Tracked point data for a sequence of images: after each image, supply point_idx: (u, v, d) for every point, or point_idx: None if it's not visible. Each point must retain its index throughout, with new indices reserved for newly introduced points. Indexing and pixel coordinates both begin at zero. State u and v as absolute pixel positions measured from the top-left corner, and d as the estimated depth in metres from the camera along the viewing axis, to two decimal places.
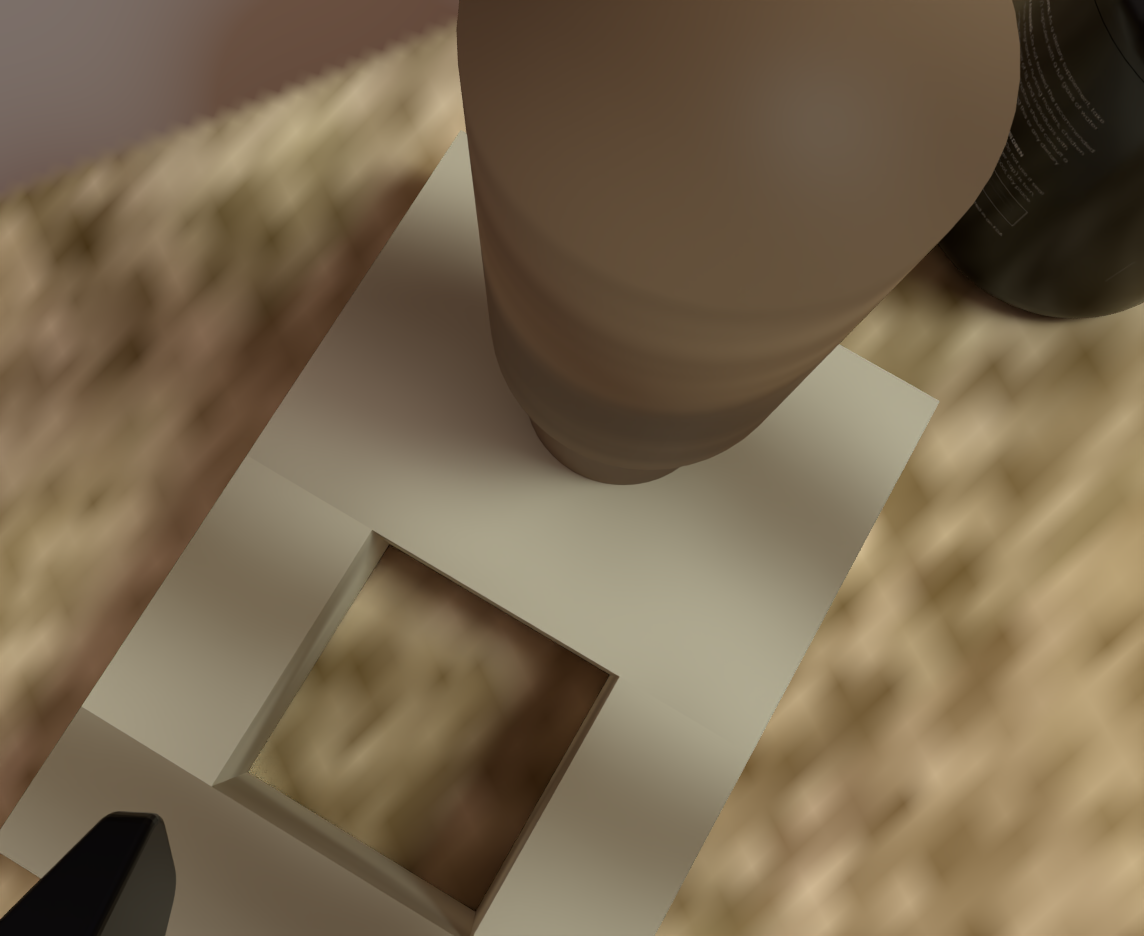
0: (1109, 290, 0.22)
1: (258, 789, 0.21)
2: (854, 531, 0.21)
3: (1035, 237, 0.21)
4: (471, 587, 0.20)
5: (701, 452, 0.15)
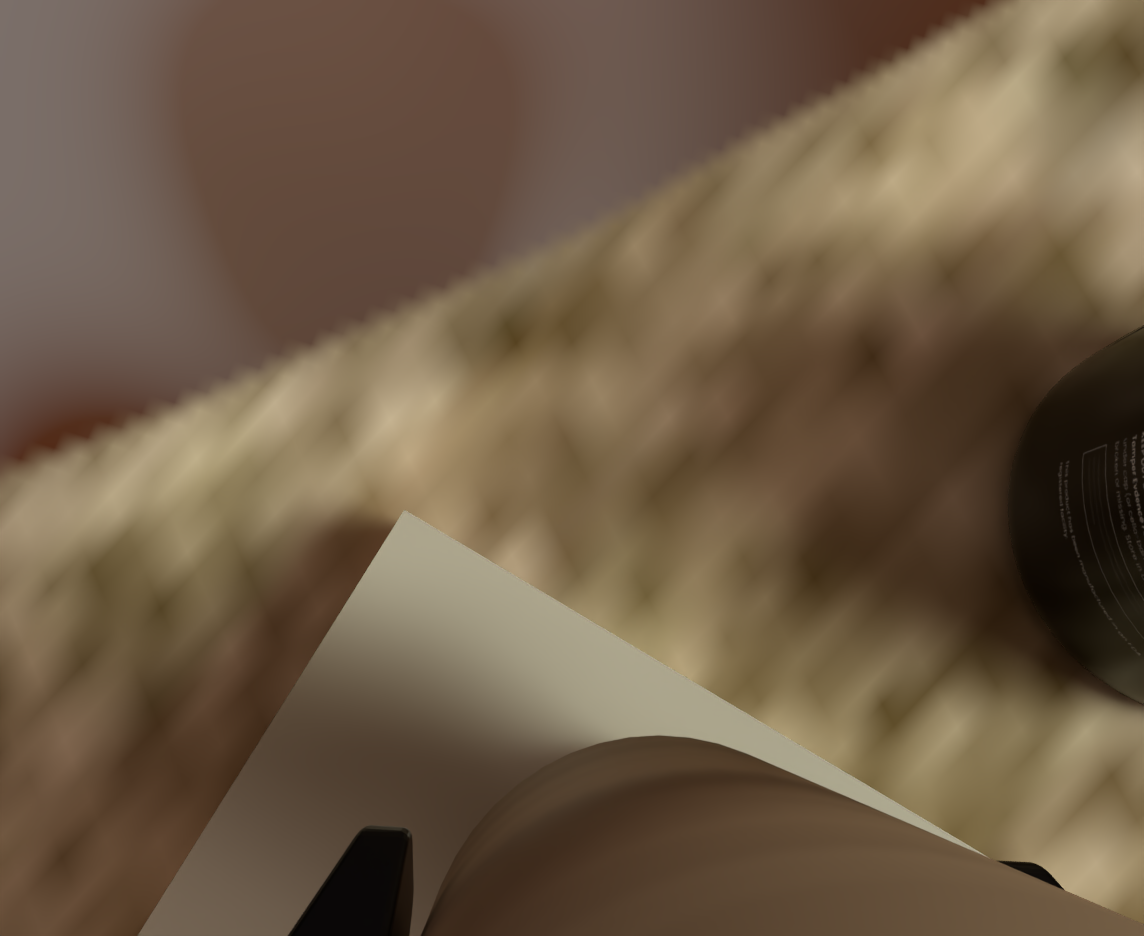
0: None
1: None
2: None
3: None
4: None
5: None
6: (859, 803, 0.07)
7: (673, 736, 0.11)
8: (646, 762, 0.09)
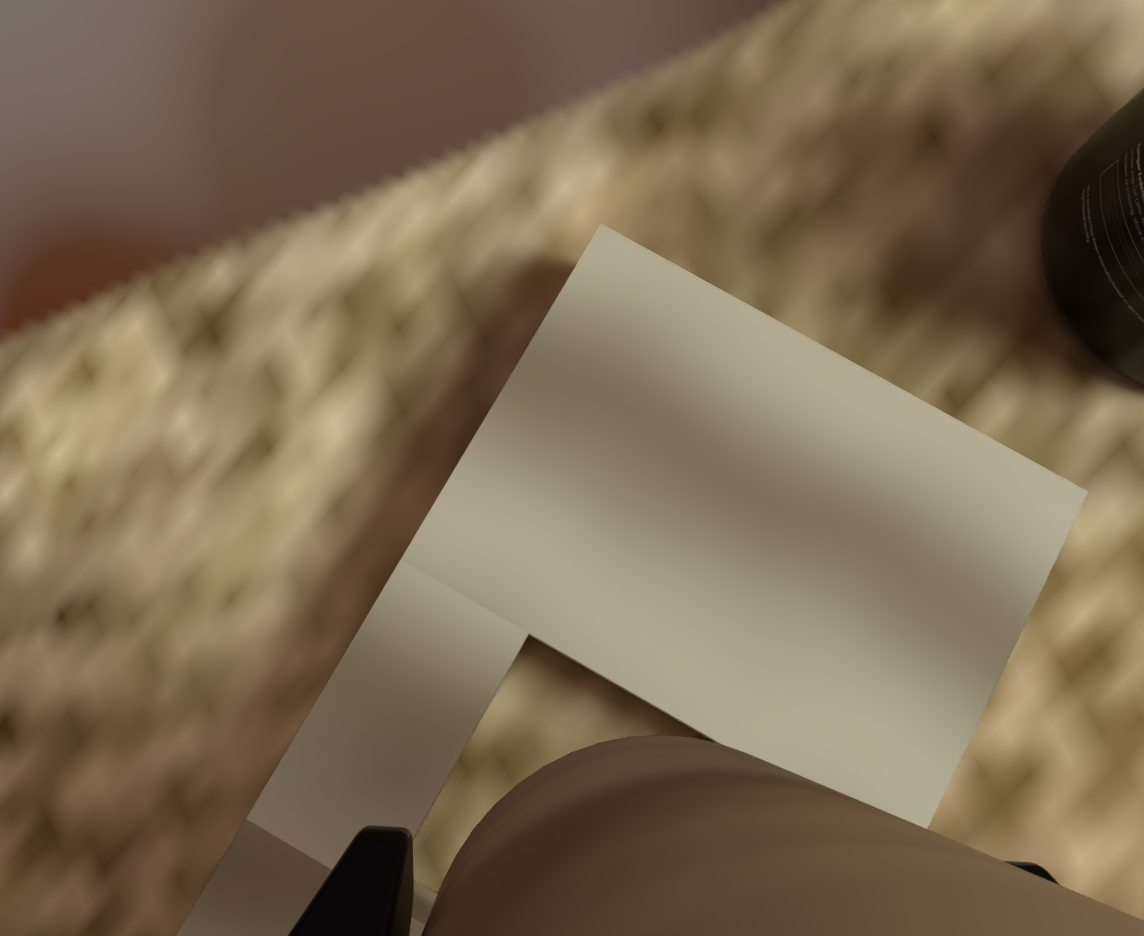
0: None
1: None
2: (1008, 626, 0.21)
3: None
4: (629, 689, 0.20)
5: None
6: (860, 801, 0.07)
7: None
8: (647, 761, 0.09)
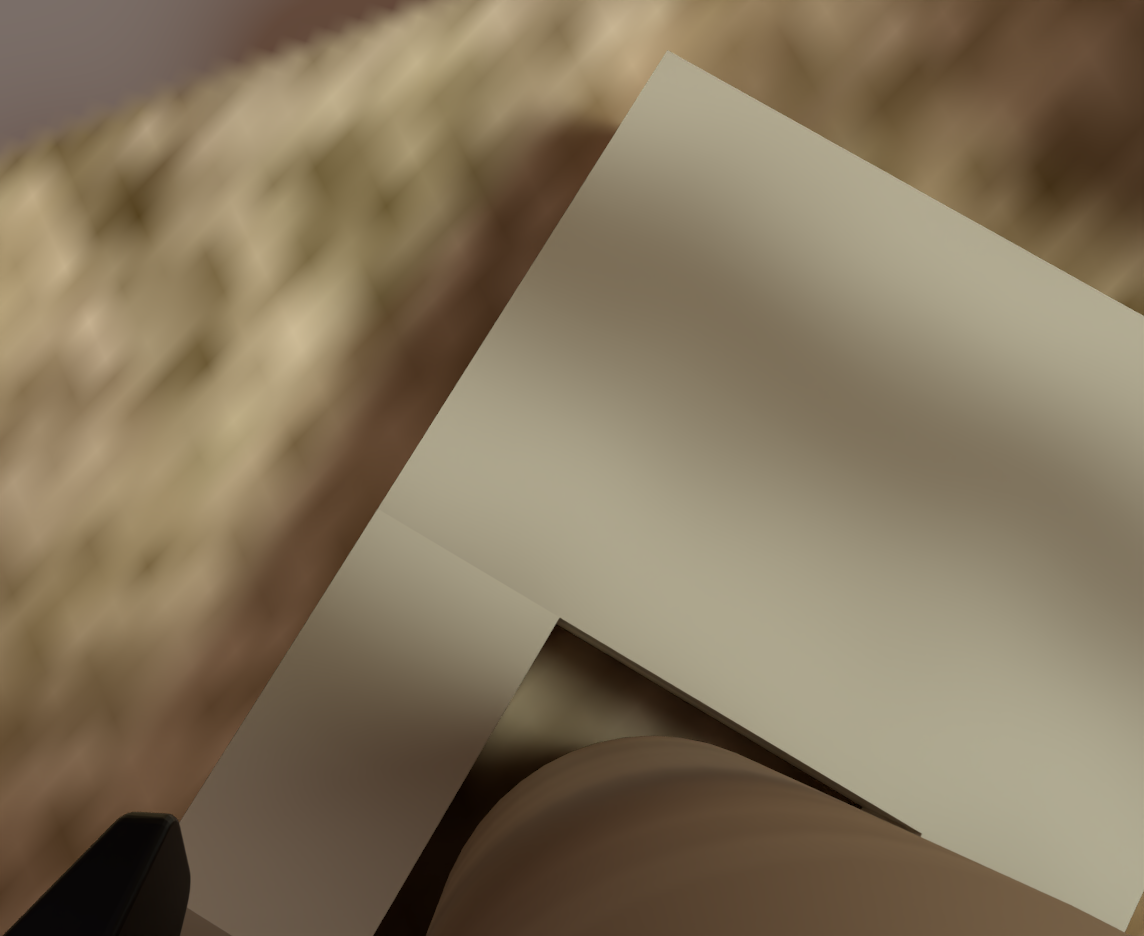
0: None
1: None
2: None
3: None
4: (703, 701, 0.14)
5: None
6: (830, 797, 0.08)
7: None
8: (639, 760, 0.09)
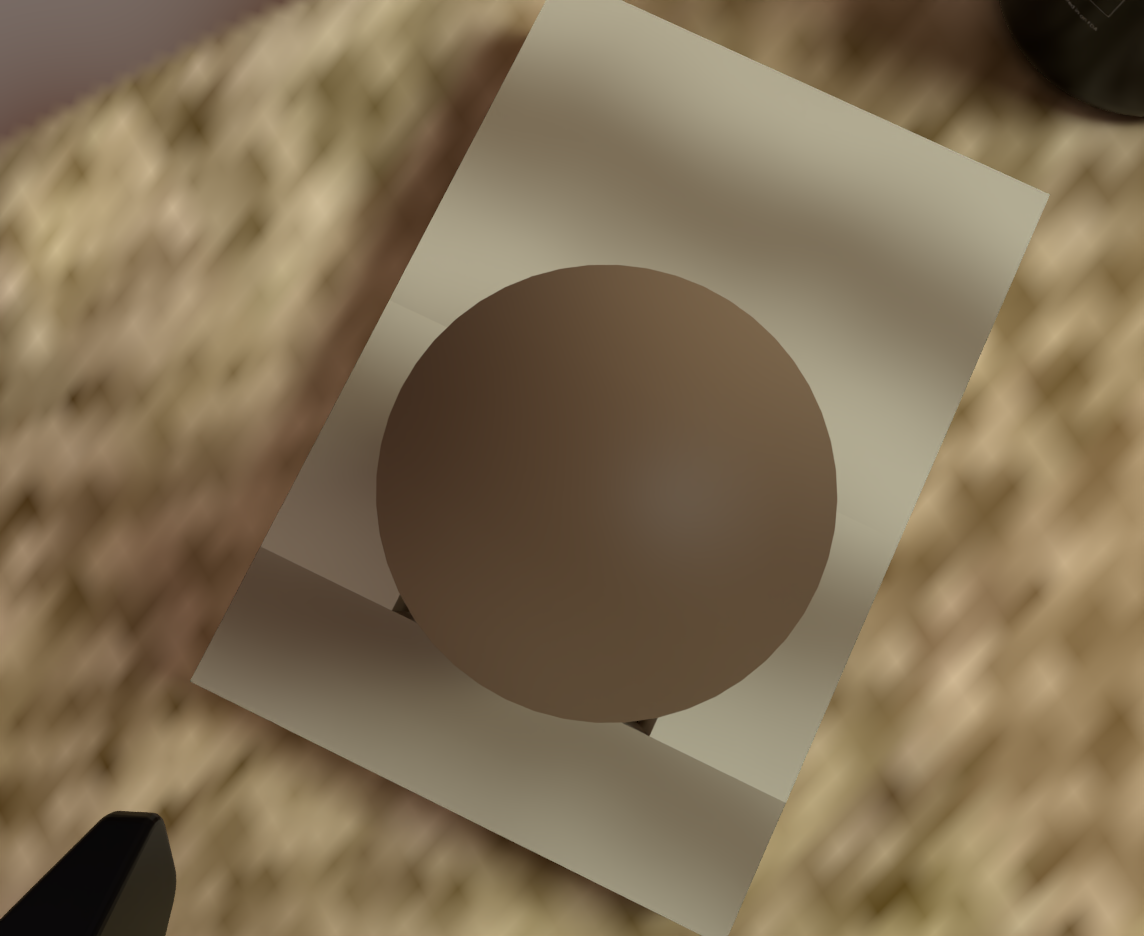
0: None
1: None
2: (978, 324, 0.21)
3: (1133, 24, 0.21)
4: None
5: None
6: None
7: None
8: None
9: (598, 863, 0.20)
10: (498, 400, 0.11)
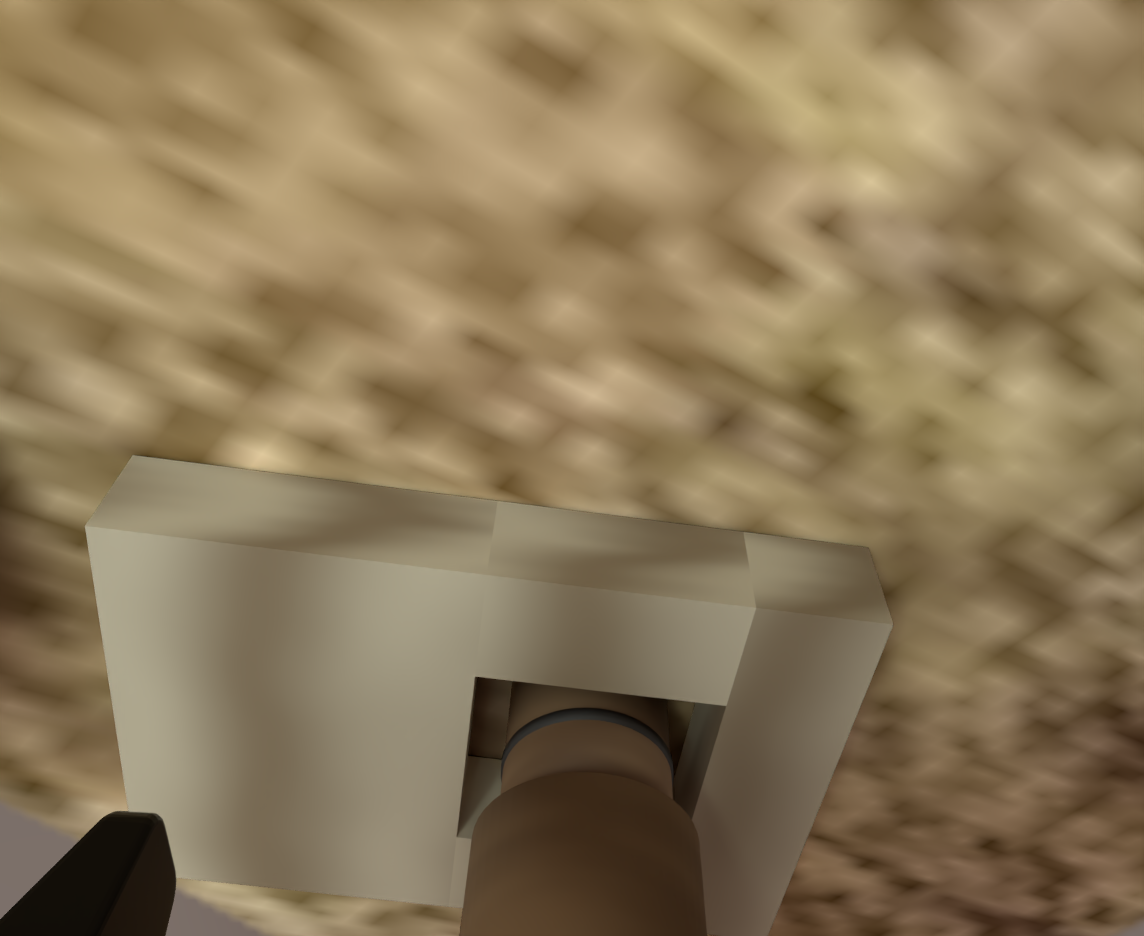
0: None
1: (679, 792, 0.27)
2: (249, 556, 0.21)
3: None
4: (462, 775, 0.24)
5: (681, 845, 0.21)
6: None
7: None
8: None
9: (841, 715, 0.23)
10: None
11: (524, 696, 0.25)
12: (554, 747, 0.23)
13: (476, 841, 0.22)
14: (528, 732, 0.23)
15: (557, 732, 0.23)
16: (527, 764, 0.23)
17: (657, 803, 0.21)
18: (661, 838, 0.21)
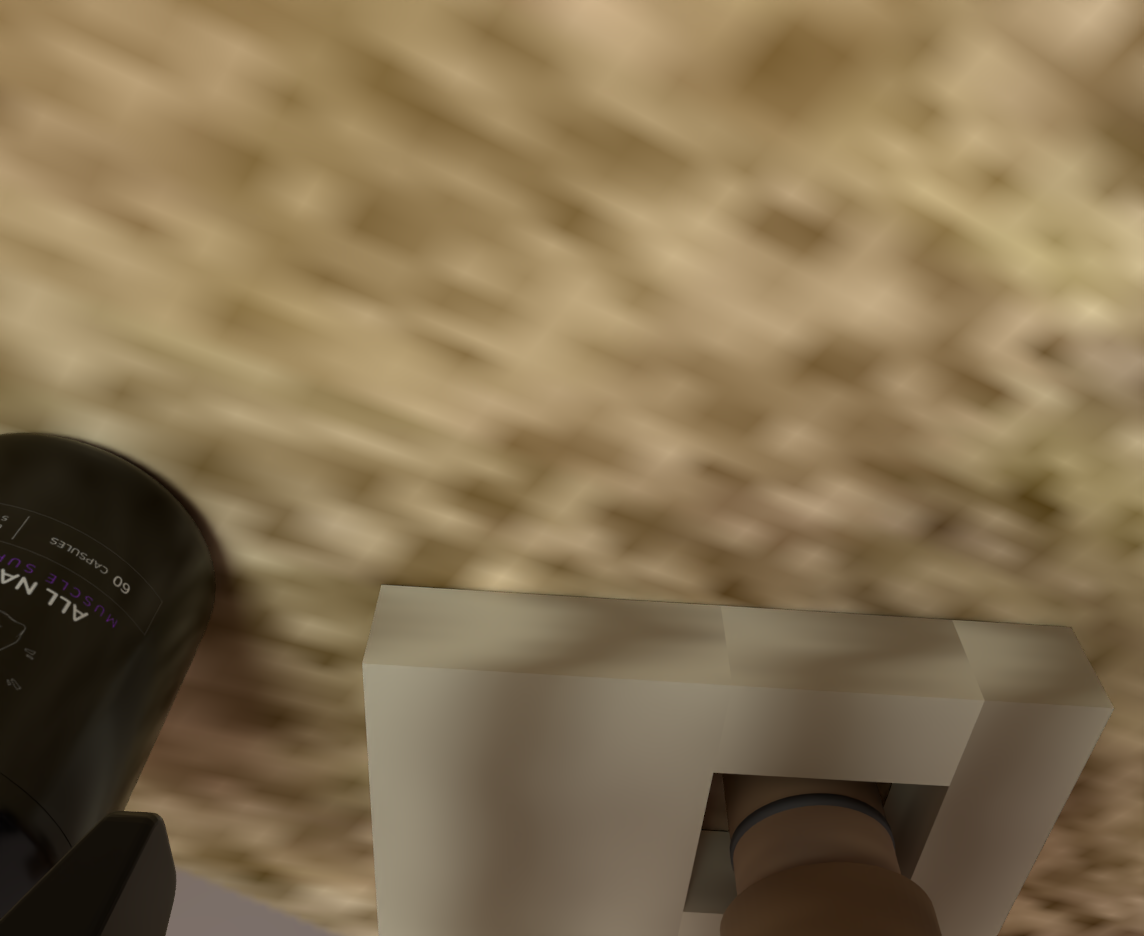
0: (161, 575, 0.21)
1: None
2: (512, 681, 0.23)
3: (176, 678, 0.22)
4: (693, 858, 0.26)
5: (930, 926, 0.22)
6: None
7: None
8: None
9: (1057, 788, 0.24)
10: None
11: (745, 781, 0.26)
12: (791, 834, 0.24)
13: (733, 930, 0.23)
14: (760, 818, 0.25)
15: (791, 819, 0.24)
16: (766, 851, 0.24)
17: (903, 888, 0.23)
18: (914, 923, 0.22)
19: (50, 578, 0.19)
